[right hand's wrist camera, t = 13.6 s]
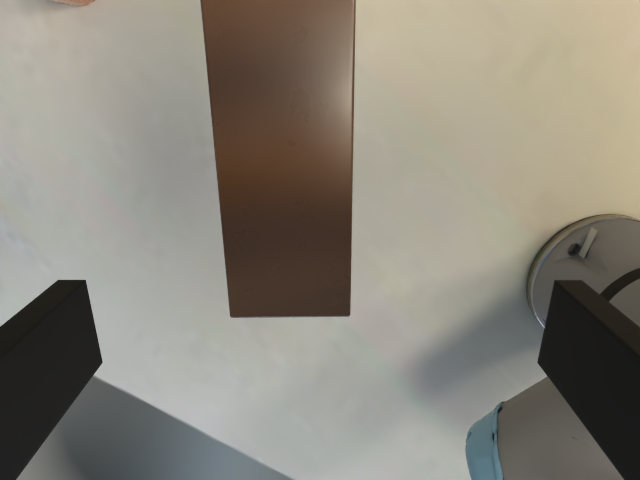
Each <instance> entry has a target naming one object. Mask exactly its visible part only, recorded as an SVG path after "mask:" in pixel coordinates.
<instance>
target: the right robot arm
mask: <svg viewBox="0 0 640 480" xmlns="http://www.w3.org/2000/svg"><path fill="white" fill-rule="evenodd" d="M527 299H528V303H529V306H530V309H531V311H532V313H533V314H534V316H535V317H536V319H537V320H538V321H539V322H540V323H541V325H542V326H543V327H544V333H543V338H542V343H541V348H540V353H539V357H538V364H539V365H540V367H541V368H542V369H543V371H544V372H545V373H546V375H547V376H548V377H546V378H545V379H543V380H541V381H540V382H538V383H536V384H535V385H533V386H531V387H529V388H528V389H526V390H524V391H523V392H521V393H519V394H518V395H516V396H514V397H513V398H511V399H509V400H508V401H505V402H501V403H499V404H498V405H497V406H496V408H495V410H493V411H492V412H490V413H489V414H488V415H486V416H485V417H483V418H482V419H480V420H479V421H477V422H476V423H475V424H474V425H473V426H472V427H471V428H470V430H469V431H468V434H467V438H466V449H465V450H466V459H467V464H468V469H469V473H470V476H471V480H640V220H638V219H635V218H632V217H629V216H624V215H612V214H611V215H600V216H595V217H590V218H587V219H584V220H581V221H579V222H577V223H575V224H573V225H571V226H569V227H567V228H565V229H564V230H562V231H561V232H560V233H558V234H557V235H556V236H554V237H553V238H552V239H551V240H550V241H549V242H548V243H547V244H546V245H545V246H544V248H543V249H542V250H541V251H540V253H539V254H538V256H537V257H536V259H535V261H534V263H533V265H532V267H531V270H530V273H529V276H528V280H527ZM101 364H102V357H101V353H100V348H99V343H98V338H97V333H96V328H95V323H94V319H93V314H92V309H91V304H90V299H89V294H88V289H87V285H86V280H58V281H56V282H55V283H54V284H53V285H51V286H50V287H49V288H48V289H46V290H45V291H44V292H43V293H42V294H40V295H39V296H38V297H37V298H35V299H34V300H33V301H32V302H30V303H29V304H28V305H27V306H25V307H24V308H23V309H22V310H21V311H19V312H18V313H17V314H16V315H14V316H13V317H12V318H11V319H9V320H8V321H7V322H6V323H4V324H3V325H2V326H1V327H0V480H16V479H17V478H18V476H19V475H20V474H21V472H22V471H23V469H24V468H25V467H26V465H27V464H28V463H29V461H30V460H31V459H32V457H33V456H34V455H35V453H36V452H37V451H38V449H39V448H40V446H41V445H42V444H43V442H44V441H45V440H46V438H47V437H48V436H49V434H50V433H51V432H52V430H53V429H54V427H55V426H56V425H57V423H58V422H59V421H60V419H61V418H62V417H63V415H64V414H65V413H66V411H67V410H68V409H69V407H70V406H71V404H72V403H73V402H74V400H75V399H76V398H77V396H78V395H79V394H80V392H81V391H82V390H83V388H84V387H85V385H86V384H87V383H88V381H89V380H90V379H91V377H92V376H93V375H94V373H95V372H96V371H97V369H98V368H99V367H100V365H101Z"/></svg>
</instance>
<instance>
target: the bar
mask: <svg viewBox="0 0 640 480" xmlns="http://www.w3.org/2000/svg"><path fill="white" fill-rule="evenodd" d="M201 10H202V21H203V31H204V42H205V53H206V63H207V74H208V85H209V95H210V106H211V117H212V127H213V138H214V149H215V159H216V170H217V181H218V191H219V202H220V213H221V223H222V234H223V245H224V255H225V266H226V277H227V287H228V298H229V309H230V316H231V317H232V318H248V317H348V316H350V299H351V241H352V183H353V125H354V68H355V10H356V0H201Z"/></svg>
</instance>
